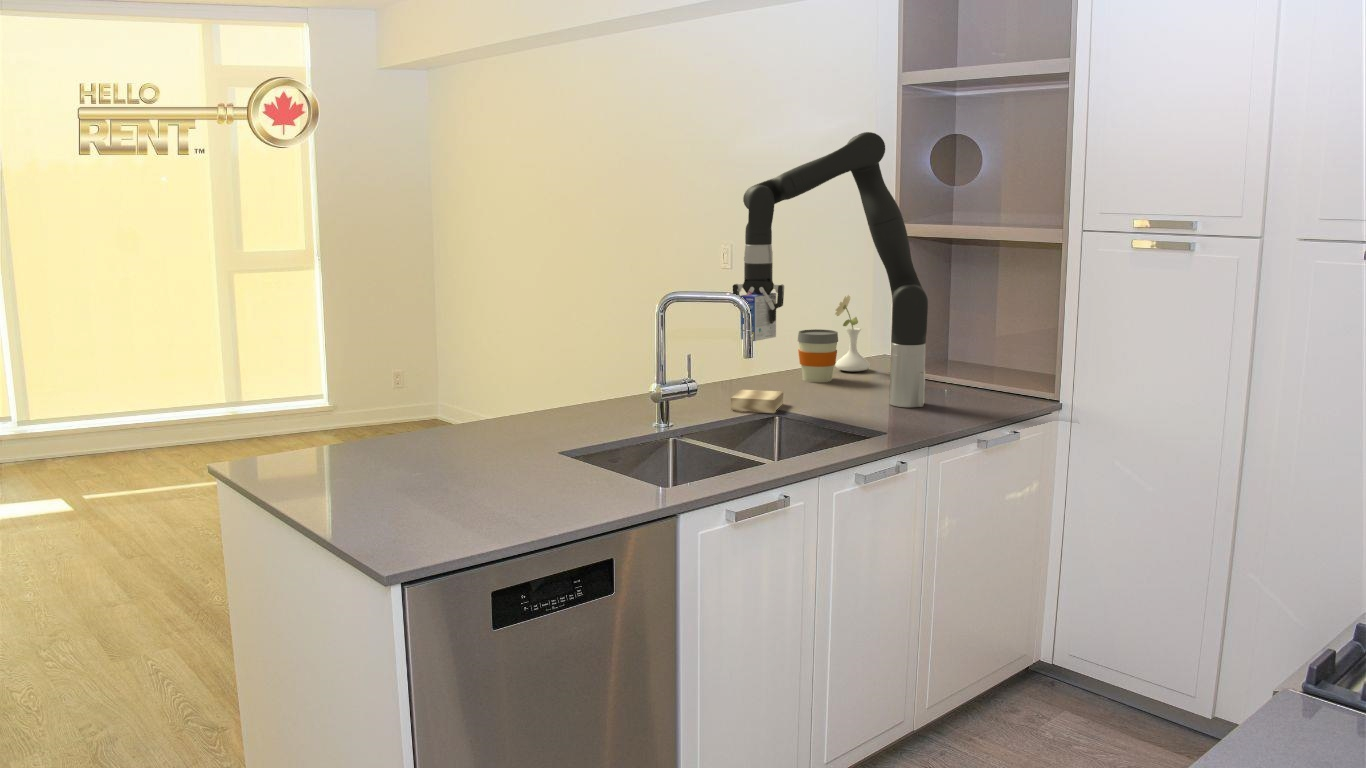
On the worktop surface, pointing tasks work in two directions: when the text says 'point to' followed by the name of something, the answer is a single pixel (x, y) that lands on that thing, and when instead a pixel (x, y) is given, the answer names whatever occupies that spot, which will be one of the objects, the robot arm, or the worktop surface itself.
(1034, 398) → the worktop surface
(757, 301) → the ink cartridge box
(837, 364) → the flower in vase
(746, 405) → the birch block
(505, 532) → the worktop surface
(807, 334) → the reusable coffee cup
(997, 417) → the worktop surface
